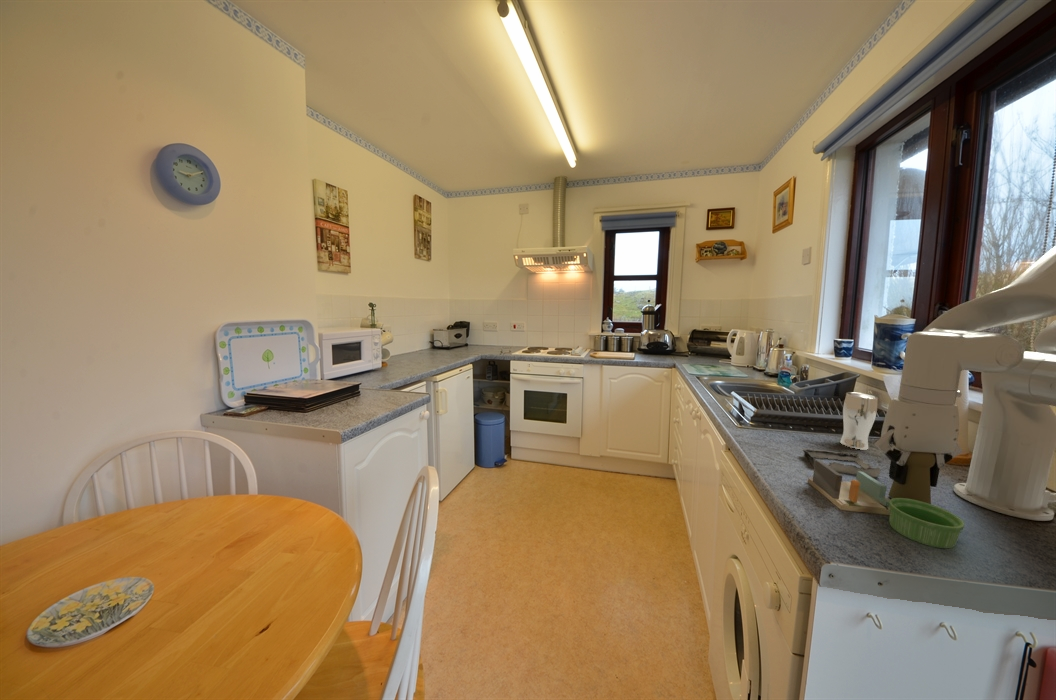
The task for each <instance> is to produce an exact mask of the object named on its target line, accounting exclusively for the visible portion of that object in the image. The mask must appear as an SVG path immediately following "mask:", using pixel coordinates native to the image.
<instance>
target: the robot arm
mask: <svg viewBox="0 0 1056 700" xmlns="http://www.w3.org/2000/svg"><path fill="white" fill-rule="evenodd" d="M1055 316H1056V245H1055V246H1053V247H1051V249H1049V250H1048V251H1047V252H1045V254H1043V255H1042V256H1041V257H1040V258H1039V259H1038V260H1036V261H1035V262H1034V263H1033V264H1032V265H1030V266H1029V267H1028V268H1027V269H1026V270H1025V271H1024V272H1022V273H1021V274H1020V275H1018V276H1017V277H1016V278H1015V279H1014V280H1013V281H1012V282H1010V283H1008V285H1006V286H1005V287H1002V288H1000V289H997V290H993V291H991V292H988V293H985V294H983V295H981V296H979V297H975V298H973V299H971V300H969V301H966V302H963V303H961V304H958V305H956V306H954V307H952V308H950V309H948V310H946V311H945V312H943V313H941V314H940V315H939V316H938V317H937V318H936V319H934V320H933V321H931V322H930V324H928V325H927V326H926V327H925V328H924V329H923V330H922V331H915V332H913V333H911V334H909V335H908V338H907V341H906V346H905V347H906V348H905V352H904V353H905V354H904V360H903V367H902V371H901V377H900V378H901V379H900V385H899V391H898V397H894V398H893V399H892V400H891V401H890V404H889V406H888V409H887V411H886V413H885V417H884V421H883V424H882V428H881V434H880V437H879V439H878V440H877V441H876V442H875V443H874V444H873V445H874V448H875V447H876V448H877V449H878V450H879V451H881V452H882V453H883V454H884V455H885V456H886V457H887V459H888V460H890V464H889V470H888V471H889V472H888V477H889V479H890V480H892V481H896V482H897V483H899V484H903V485H904V484H905V483H906V477H907V471H908V466H906V465H904V464H905V463H906V461H907V459H908V457H909V455H910V452H920V453H933V454H934V456H935V459H936V460H935V464H934V466H933V467H931V468H930V488H937V487H938V486H937V485H938V481H939V473H940V469H943V468H945V467H946V464H947V463H949V462H950V461H951V460H952V459H953V458H956V457H959V456H960V455H962V454H963V453H964V451H963V449H962V447H961V446H960V445H959V443H958V440H959V433H960V432H959V431H960V416H959V415H960V414H959V406H958V405H957V404H956V400H957V398H961V397H962V392H961V391H960V390H958V389H959V384H960V380H961V379H960V378H961V373H962V371H971V372H978V373H981V374H980V376H981V377H980V378H981V384H982V385H981V388H982V405H981V411H980V417H979V422H978V427H977V432H976V437H975V440H974V441H975V442H974V446H973V450H972V455H971V460H970V463H969V464H970V466H969V469H968V474H967V478H966V479H967V480H966V482H958V483H955V484H954V485H953V491H954V493H955V495H957V496H959V497H960V498H962V499H964V500H966V501H967V502H970V503H972V504H974V505H977V506H979V507H982V508H984V509H987V510H990V511H993V512H997V513H999V514H1000V513H1001V514H1002V515H1007V516H1009V517H1015V518H1019V519H1024V520H1031V521H1038V522H1040V521H1041V522H1045V521H1047V522H1048V521H1052V520H1053V519H1054V517H1055V511H1054V510H1053V509H1052V508H1051V507H1048V505H1049V504H1052V503H1056V492H1051V491H1049V490H1046V488H1047V485H1048V481H1049V476H1050V472H1051V469H1052V464H1053V461H1054V456H1055V452H1056V414H1055V412H1054V411H1053V409H1052V407H1056V319H1054V320H1053V321H1052V322H1051V323H1049V324H1048V325H1047V326H1045V327H1044V328H1043V329H1042V330H1041V331H1040V332H1039V333H1038V334H1037V336H1036V337H1035V338H1034V342H1033V348H1034V350H1035V351H1027V350H1025V348H1024V346H1023V344H1022V343H1021V342H1020V341H1019V340H1017V339H1016V338H1014V337H1013V336H1009V335H1007V334H1004V333H998V332H988V331H984V330H988V329H991V328H992V329H993V328H995V327H1000V326H1005V325H1013V324H1018V323H1026V322H1030V321H1031V322H1032V321H1036V320H1042V319H1046V318H1050V317H1055ZM1051 406H1052V407H1051ZM890 445H892V446H891V448H890V447H889V446H890ZM899 451H901V452H900V454H899ZM898 454H899V456H898Z"/></svg>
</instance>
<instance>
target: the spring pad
mask: <svg viewBox="0 0 1056 700" xmlns="http://www.w3.org/2000/svg"><path fill="white" fill-rule="evenodd" d="M855 480H857V481H859V482H860V486H859V488H860V489H861V490H863V491H864V492H866V493H867V494H869V495H870V496H871V497H873V498H874V499H876V500H877V501H879V502H881V503H882V504H884V505H885V506H889V500H888V499H886V498H885V496H886V493H887V488H888V486H886V485H885V484H883V483H881V482H880V481H878V480H877V479H875V477H870V476H869V475H867V474H866V473H864V472H860V471H857V475H856V478H855Z"/></svg>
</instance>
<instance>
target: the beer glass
mask: <svg viewBox="0 0 1056 700" xmlns="http://www.w3.org/2000/svg"><path fill="white" fill-rule="evenodd" d="M878 399H879V397H878V396H876V395H874V394H868V393H863V392H855V391H854V392H853V391H848V392H846V393H845V399H844V403H843V408H842V419H843V421H842V422H843V432H842V436H841V438H840V441H839V442H840V443H841V444H842V446H843V445H845V446H844V447H846V446H847V447H846V448H848V447H850V449H852V448H855V449H854V450H857V449H860V450H859V451H867V449H868V450H869V441H868V440H869V435H870V432H871V430H872V427H873V425H874V423H875V420H876V417H877V413H878V412H877V411H878V404H879V403H878V401H879V400H878ZM841 444H840V445H841Z"/></svg>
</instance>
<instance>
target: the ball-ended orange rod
mask: <svg viewBox="0 0 1056 700" xmlns="http://www.w3.org/2000/svg"><path fill="white" fill-rule="evenodd" d="M850 482H851V485H850V491H849V498H848V499H849V500H850V501H852V502H853V503H857V498H858V492H859V486H860V482H859V481H857V480H856V479H851V480H850Z"/></svg>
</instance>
